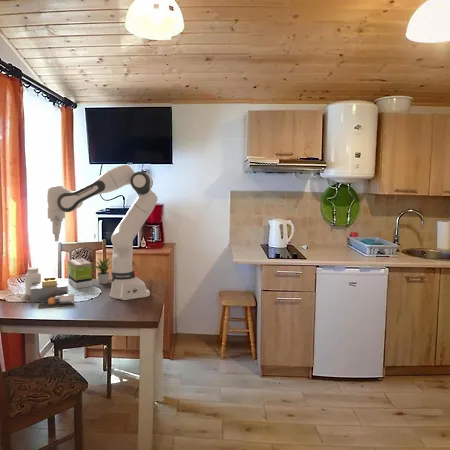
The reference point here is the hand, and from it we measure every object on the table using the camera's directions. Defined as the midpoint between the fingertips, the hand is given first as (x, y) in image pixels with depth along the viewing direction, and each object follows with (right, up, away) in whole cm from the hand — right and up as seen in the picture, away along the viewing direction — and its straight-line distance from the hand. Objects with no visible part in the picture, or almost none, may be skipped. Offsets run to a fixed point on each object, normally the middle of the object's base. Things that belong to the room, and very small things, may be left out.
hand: (57, 239), depth 223 cm
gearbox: (-2, -32, -5) cm, 32 cm away
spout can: (+10, -33, -14) cm, 37 cm away
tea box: (+4, -29, +23) cm, 37 cm away
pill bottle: (-14, -31, +2) cm, 34 cm away
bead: (+4, -33, -15) cm, 37 cm away
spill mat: (+6, -34, -15) cm, 37 cm away
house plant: (+17, -28, +30) cm, 45 cm away
